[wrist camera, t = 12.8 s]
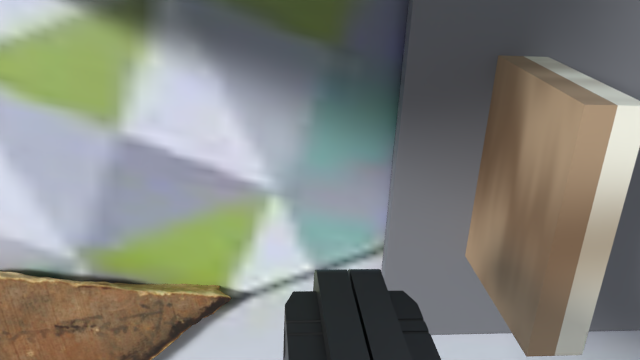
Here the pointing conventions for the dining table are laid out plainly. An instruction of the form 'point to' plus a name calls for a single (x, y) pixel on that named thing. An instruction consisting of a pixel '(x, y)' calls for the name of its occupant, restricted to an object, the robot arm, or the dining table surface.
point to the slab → (550, 198)
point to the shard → (96, 317)
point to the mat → (468, 139)
